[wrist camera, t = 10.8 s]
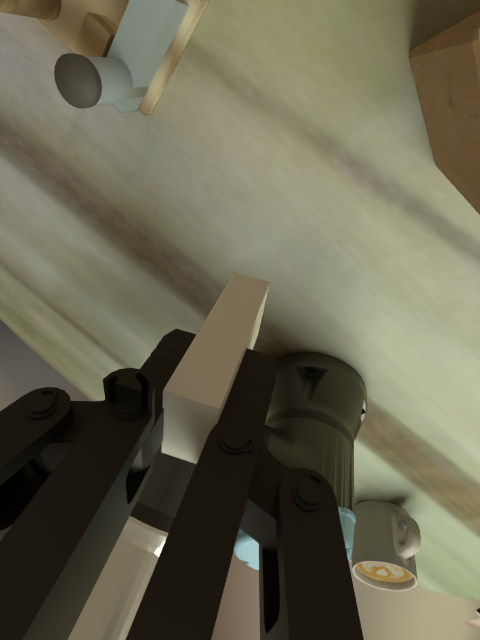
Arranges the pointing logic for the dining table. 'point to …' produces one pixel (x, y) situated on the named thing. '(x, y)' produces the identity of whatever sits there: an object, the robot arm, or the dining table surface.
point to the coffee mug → (385, 546)
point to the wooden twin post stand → (105, 31)
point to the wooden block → (452, 102)
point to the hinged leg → (123, 58)
